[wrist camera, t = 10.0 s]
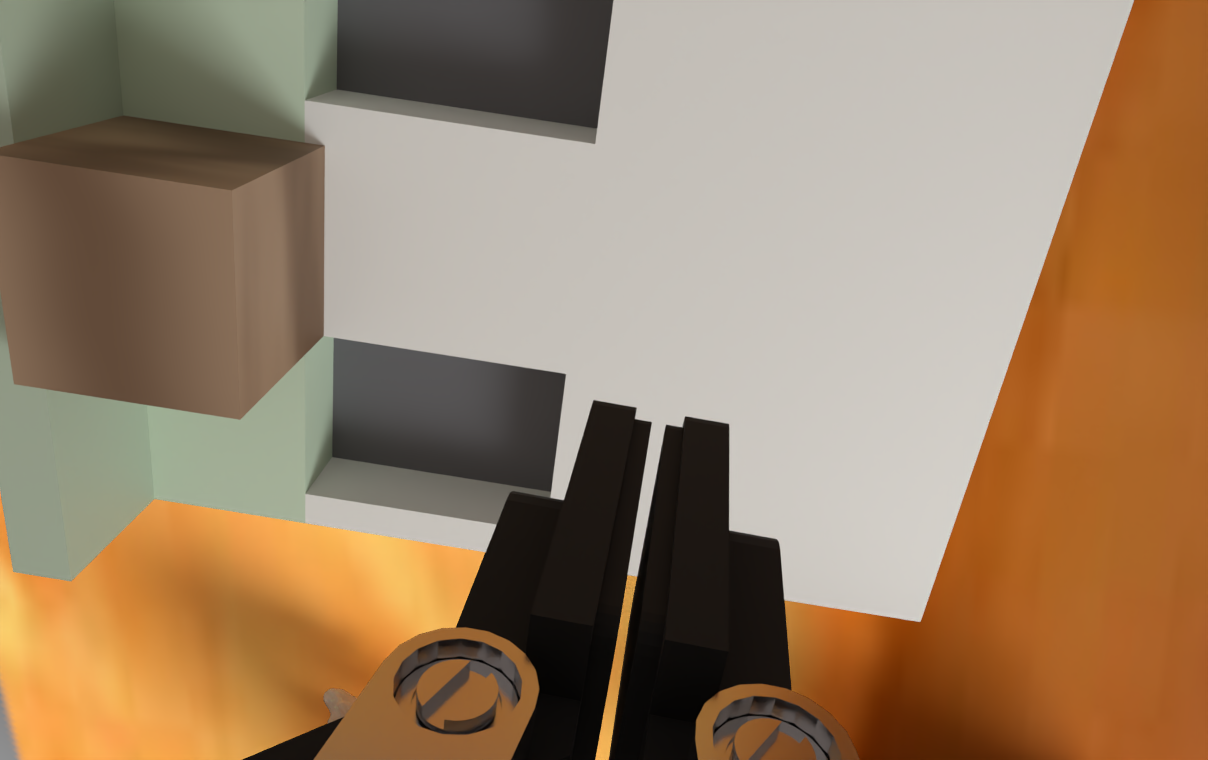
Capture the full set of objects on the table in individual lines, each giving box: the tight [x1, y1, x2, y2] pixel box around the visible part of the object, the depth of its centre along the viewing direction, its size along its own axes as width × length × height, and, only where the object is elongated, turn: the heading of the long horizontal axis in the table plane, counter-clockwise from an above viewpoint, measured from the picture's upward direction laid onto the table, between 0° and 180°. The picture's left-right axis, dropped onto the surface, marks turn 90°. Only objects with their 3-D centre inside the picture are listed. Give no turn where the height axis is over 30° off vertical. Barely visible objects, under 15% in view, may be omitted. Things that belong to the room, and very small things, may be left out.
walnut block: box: [0, 115, 325, 420], centre depth 21 cm, size 5×5×5 cm
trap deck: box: [0, 0, 1134, 622], centre depth 22 cm, size 24×18×6 cm
